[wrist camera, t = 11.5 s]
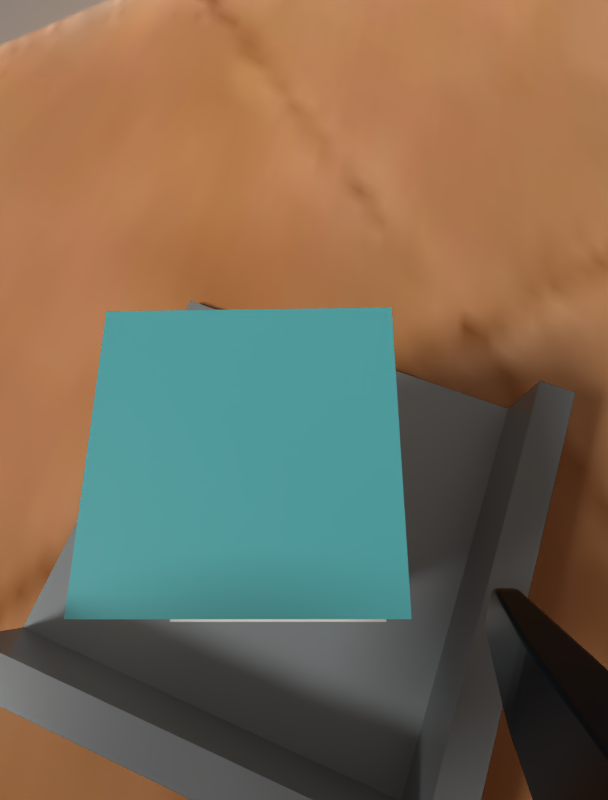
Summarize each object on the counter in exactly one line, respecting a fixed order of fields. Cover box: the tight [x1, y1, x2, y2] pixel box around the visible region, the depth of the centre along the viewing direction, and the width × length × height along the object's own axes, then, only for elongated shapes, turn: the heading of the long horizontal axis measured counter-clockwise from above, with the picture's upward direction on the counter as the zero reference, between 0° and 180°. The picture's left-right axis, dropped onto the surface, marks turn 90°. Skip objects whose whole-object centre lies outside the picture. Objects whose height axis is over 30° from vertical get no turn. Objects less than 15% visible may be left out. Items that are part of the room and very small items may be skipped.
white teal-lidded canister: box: [64, 308, 412, 619], centre depth 15 cm, size 6×6×10 cm
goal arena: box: [0, 301, 575, 800], centre depth 18 cm, size 15×15×4 cm
